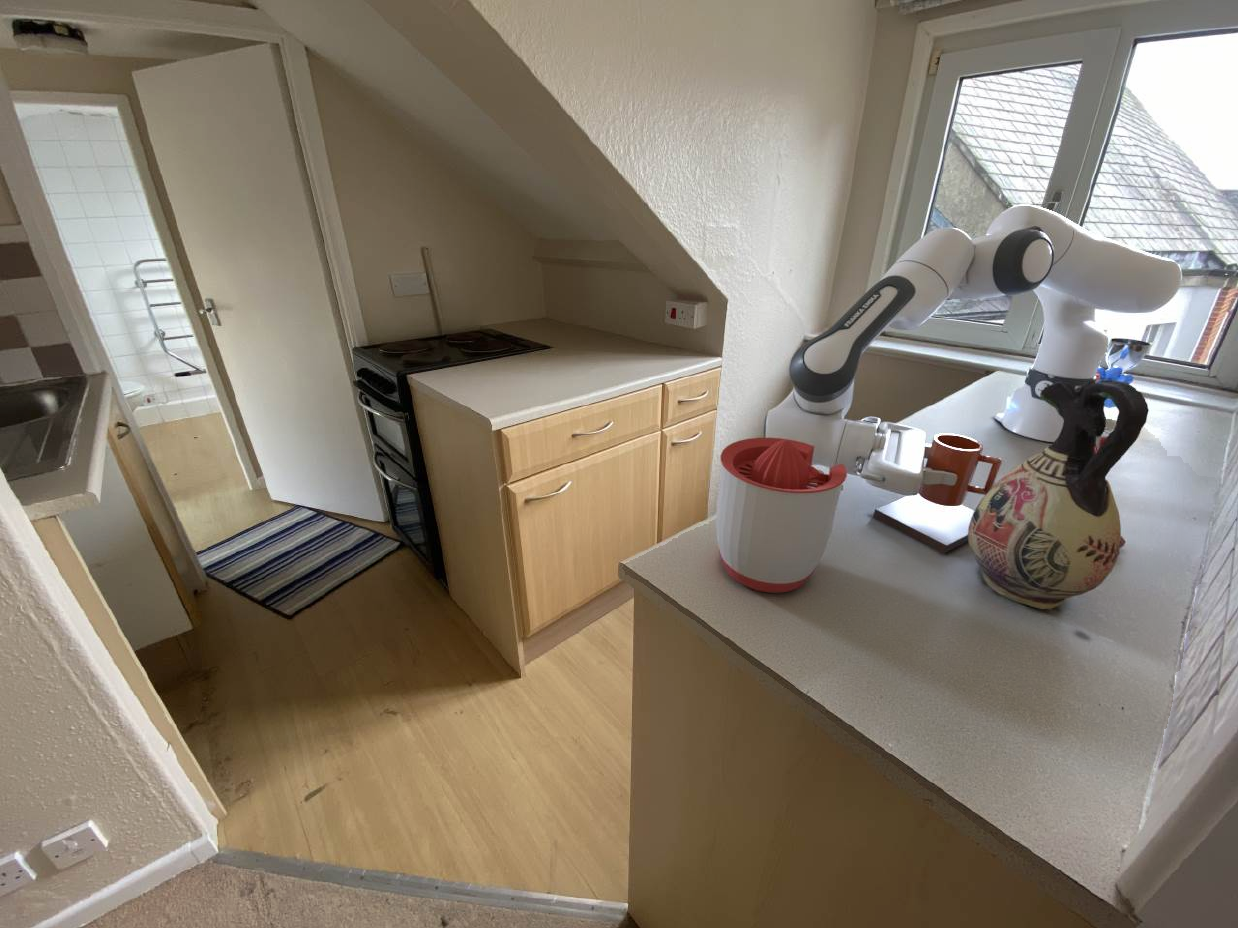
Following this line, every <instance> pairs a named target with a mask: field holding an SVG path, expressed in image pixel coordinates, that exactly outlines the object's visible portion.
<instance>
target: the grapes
mask: <svg viewBox="0 0 1238 928" xmlns="http://www.w3.org/2000/svg"><path fill="white" fill-rule="evenodd" d="M1122 372H1123V370H1122V368H1121V367H1117V366H1115V367H1111V368H1110V367H1108V369H1105V368H1104V367H1101V366H1099V368H1098V371H1097V373H1096V374H1100V377H1099V379H1098V381H1097V382H1100V381H1105V380H1113V381H1120V382H1125V383H1128V384H1129V385H1131V384H1132V383H1133V381H1134V380H1135V379H1134V376H1133V375H1132V374H1130V373H1122ZM1115 407H1116V406H1115V404H1114V403H1113V401H1112V400H1111V399H1109V398H1107V399H1106V400H1105V402H1104V408H1108V409H1111V408H1115ZM1116 408H1117V407H1116Z"/></svg>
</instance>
